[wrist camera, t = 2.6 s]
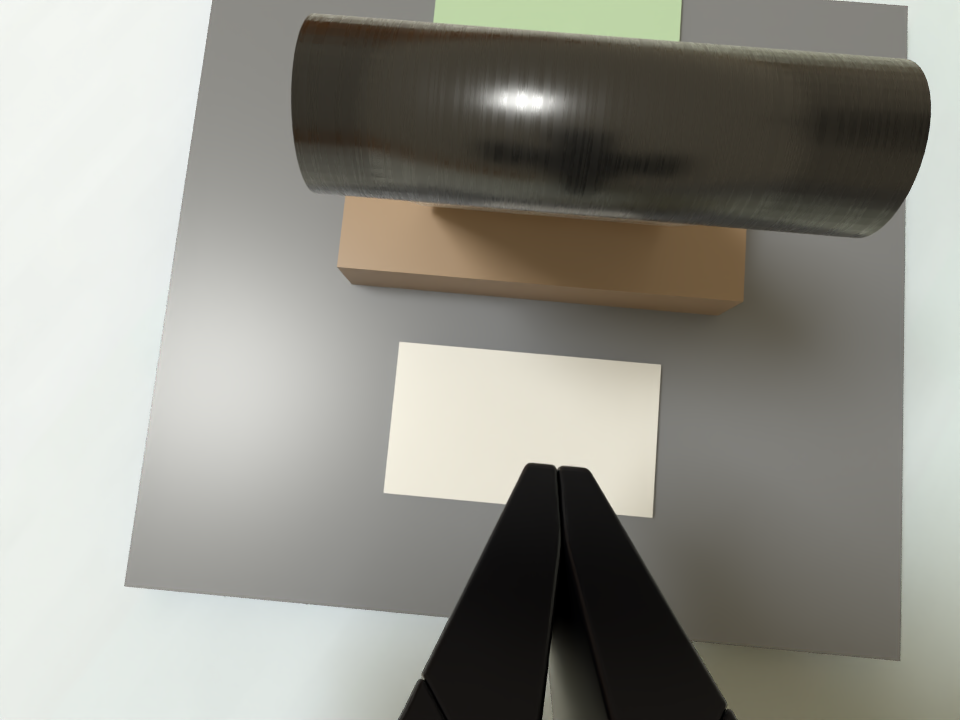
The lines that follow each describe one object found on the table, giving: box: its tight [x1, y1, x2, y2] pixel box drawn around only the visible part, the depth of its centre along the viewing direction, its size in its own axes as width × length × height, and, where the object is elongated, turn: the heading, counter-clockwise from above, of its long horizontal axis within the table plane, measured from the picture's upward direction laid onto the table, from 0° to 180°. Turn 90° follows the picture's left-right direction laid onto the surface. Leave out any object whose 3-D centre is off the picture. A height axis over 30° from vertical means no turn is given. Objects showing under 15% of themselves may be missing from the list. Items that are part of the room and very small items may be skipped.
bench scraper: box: [291, 13, 931, 238], centre depth 11 cm, size 2×7×9 cm, turn 84°
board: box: [124, 0, 908, 661], centre depth 18 cm, size 18×20×3 cm
